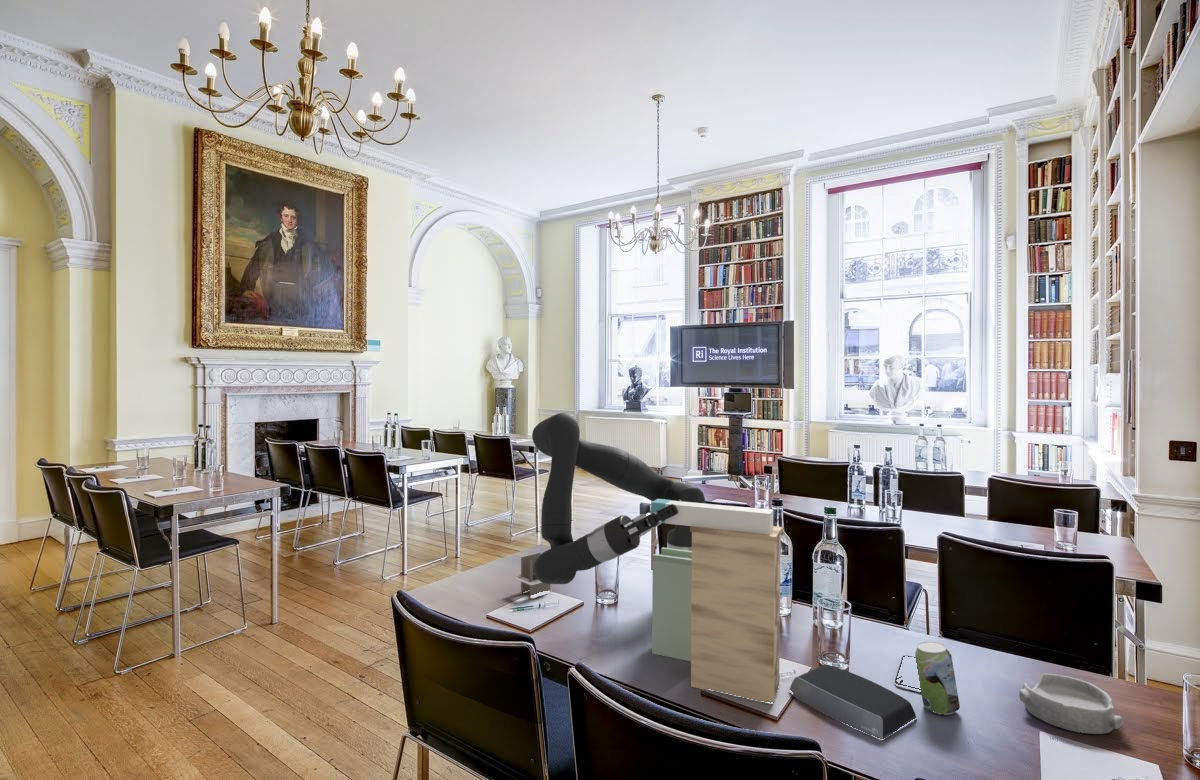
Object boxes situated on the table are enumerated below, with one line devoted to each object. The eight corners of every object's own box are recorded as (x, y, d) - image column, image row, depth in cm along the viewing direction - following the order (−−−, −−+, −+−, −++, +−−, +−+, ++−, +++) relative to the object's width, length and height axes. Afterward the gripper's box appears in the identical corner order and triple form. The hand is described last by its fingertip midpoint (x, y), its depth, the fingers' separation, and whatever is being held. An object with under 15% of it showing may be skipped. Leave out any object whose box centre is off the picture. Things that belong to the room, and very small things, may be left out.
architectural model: (542, 580, 184) (542, 545, 184) (579, 594, 172) (579, 556, 172) (492, 595, 171) (492, 557, 171) (528, 612, 159) (528, 570, 159)
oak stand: (700, 668, 127) (701, 518, 127) (781, 685, 120) (782, 527, 120) (689, 687, 119) (690, 527, 119) (774, 706, 112) (775, 537, 112)
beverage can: (965, 721, 108) (965, 655, 107) (920, 716, 109) (921, 651, 109) (951, 702, 114) (952, 640, 114) (910, 698, 115) (910, 637, 115)
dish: (1016, 717, 109) (1016, 690, 109) (1026, 689, 119) (1026, 664, 119) (1121, 750, 99) (1121, 721, 99) (1122, 716, 110) (1122, 689, 110)
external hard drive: (879, 746, 101) (879, 722, 101) (785, 696, 117) (785, 675, 117) (919, 721, 108) (919, 699, 108) (826, 677, 124) (826, 658, 124)
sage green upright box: (662, 641, 140) (662, 547, 140) (712, 651, 135) (713, 553, 135) (652, 653, 134) (652, 555, 134) (704, 664, 129) (705, 562, 129)
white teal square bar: (657, 517, 127) (657, 498, 127) (773, 529, 117) (773, 509, 117) (651, 521, 124) (651, 502, 123) (770, 534, 114) (770, 513, 113)
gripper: (591, 530, 124) (659, 495, 117) (618, 516, 137) (681, 484, 130) (607, 564, 122) (677, 530, 116) (633, 546, 135) (697, 515, 129)
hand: (679, 506), depth 123 cm, fingers closed on white teal square bar, 4 cm apart
